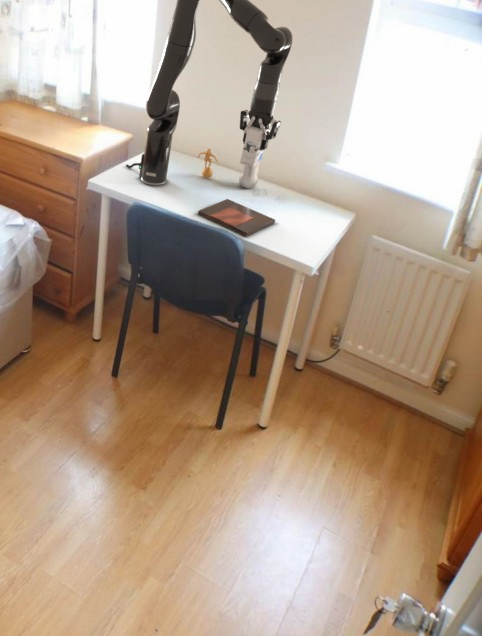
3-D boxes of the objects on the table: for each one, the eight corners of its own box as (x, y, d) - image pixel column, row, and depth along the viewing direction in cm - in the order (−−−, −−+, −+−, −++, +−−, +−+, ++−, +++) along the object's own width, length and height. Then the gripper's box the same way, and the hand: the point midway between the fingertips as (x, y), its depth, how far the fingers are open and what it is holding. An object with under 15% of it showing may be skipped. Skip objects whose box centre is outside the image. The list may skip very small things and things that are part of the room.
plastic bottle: (256, 191, 261) (268, 138, 250) (237, 189, 262) (248, 136, 251) (256, 184, 266) (267, 132, 255) (237, 182, 267) (248, 130, 256)
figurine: (218, 179, 269) (224, 148, 262) (211, 184, 265) (217, 153, 258) (198, 173, 272) (203, 142, 266) (191, 178, 268) (196, 147, 262)
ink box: (248, 155, 240) (255, 121, 233) (262, 159, 238) (270, 124, 231) (239, 163, 234) (246, 128, 227) (254, 167, 232) (261, 132, 225)
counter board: (197, 214, 243) (198, 210, 242) (226, 202, 252) (227, 198, 251) (245, 237, 231) (247, 232, 230) (274, 223, 240) (275, 219, 239)
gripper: (239, 91, 225) (229, 142, 235) (278, 103, 217) (266, 156, 226) (252, 87, 230) (242, 138, 239) (291, 99, 221) (279, 151, 231)
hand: (254, 146), depth 233 cm, fingers closed on ink box, 5 cm apart
